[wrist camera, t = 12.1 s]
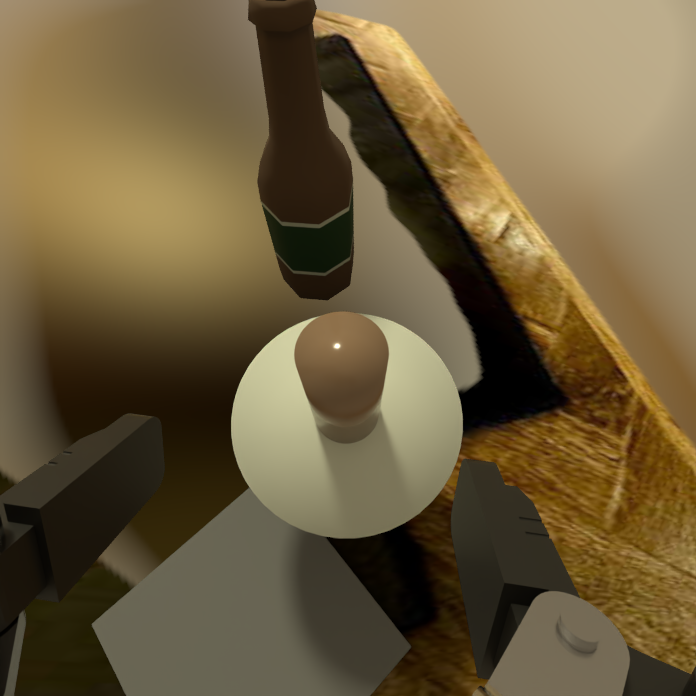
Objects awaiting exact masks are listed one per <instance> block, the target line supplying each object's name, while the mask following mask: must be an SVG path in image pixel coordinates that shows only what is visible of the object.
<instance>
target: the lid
mask: <svg viewBox="0 0 696 696" xmlns="http://www.w3.org/2000/svg"><path fill="white" fill-rule="evenodd" d="M231 430H232V431H231V434H232V442H233V449H234V453H235V456H236V460H237V463H238V466H239V468H240V470H241V472H242V475H243V477H244V479H245V480H246V482H247V484H248V485H249V487H250V488H251V490H252V492H253V493H254V494H255V495H256V496H257V498H258V499H259V500H260V501H261V502H262V503H263V504H264V505H265V506H266V507H267V508H268V509H269V510H270V511H272V512H273V513H274V514H275V515H276V516H278V517H279V518H281V519H282V520H284V521H286V522H287V523H289V524H290V525H293V526H295V527H297V528H299V529H301V530H304V531H306V532H310V533H313V534H317V535H320V536H325V537H332V538H361V537H367V536H373V535H376V534H380V533H383V532H386V531H389V530H391V529H393V528H395V527H397V526H400V525H402V524H404V523H406V522H407V521H409V520H410V519H412V518H413V517H414V516H416V515H417V514H419V513H420V512H421V511H422V510H423V509H424V508H426V507H427V506H428V505H429V504H430V503H431V502H432V501H433V500H434V499H435V497H436V496H437V495H438V494H439V492H440V491H441V490H442V489H443V487H444V485H445V484H446V482H447V480H448V479H449V477H450V475H451V473H452V471H453V468H454V466H455V464H456V462H457V458H458V454H459V451H460V447H461V440H462V432H463V417H462V409H461V402H460V399H459V395H458V392H457V388H456V386H455V383H454V381H453V379H452V376H451V374H450V373H449V371H448V369H447V367H446V366H445V364H444V362H443V361H442V360H441V359H440V357H439V356H438V355H437V353H436V352H435V351H434V350H433V349H432V348H431V347H430V346H429V345H428V344H427V343H426V342H425V341H424V340H422V339H421V338H420V337H418V336H417V335H416V334H415V333H413V332H411V331H410V330H408V329H407V328H405V327H403V326H401V325H399V324H397V323H395V322H392V321H390V320H387V319H384V318H380V317H377V316H373V315H368V314H360V313H353V312H347V311H337V312H331V313H327V314H324V315H322V316H319V317H315V318H311V319H309V320H306V321H303V322H301V323H299V324H297V325H295V326H293V327H291V328H289V329H287V330H286V331H284V332H283V333H281V334H280V335H278V336H277V337H275V338H274V339H273V340H272V341H271V342H269V343H268V344H267V345H266V346H265V347H264V348H263V349H262V350H261V352H260V353H259V354H258V355H257V356H256V357H255V359H254V360H253V361H252V363H251V364H250V365H249V367H248V369H247V371H246V372H245V374H244V376H243V378H242V380H241V383H240V385H239V387H238V390H237V393H236V397H235V400H234V404H233V411H232V419H231Z"/></svg>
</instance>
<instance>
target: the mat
mask: <svg viewBox="0 0 696 696" xmlns="http://www.w3.org/2000/svg"><path fill="white" fill-rule="evenodd" d="M92 626H93V628H94V630H95V632H96V634H97V637H98V639H99V641H100V643H101V645H102V647H103V649H104V651H105V653H106V655H107V657H108V659H109V661H110V663H111V665H112V667H113V669H114V671H115V673H116V675H117V678H118V680H119V682H120V684H121V686H122V688H123V690H124V692H125V694H126V696H370V695H371V694H372V693H373V692H374V691H375V689H376V688H377V687H378V686H379V685H380V684H381V682H382V681H383V680H384V679H385V678H386V676H387V675H388V674H389V673H390V672H391V671H392V669H393V668H394V667H395V666H396V665H397V664H398V662H399V661H400V660H401V659H402V658H403V656H404V655H405V654H406V653H407V652H408V651H409V649H410V648H411V645H410V644H409V643H408V642H407V640H406V639H405V638H404V637H403V635H402V634H401V633H400V631H399V630H398V629H397V628H396V626H395V625H394V624H393V622H392V621H391V620H390V619H389V617H388V616H387V615H386V614H385V612H384V611H383V610H382V608H381V607H380V606H379V605H378V603H377V602H376V601H375V600H374V598H373V597H372V596H371V594H370V593H369V592H368V591H367V589H366V588H365V587H364V586H363V584H362V583H361V582H360V580H359V579H358V578H357V577H356V575H355V574H354V573H353V571H352V570H351V569H350V568H349V566H348V565H347V564H346V563H345V561H344V560H343V559H342V557H341V556H340V555H339V554H338V552H337V551H336V550H335V549H334V547H333V546H332V545H331V543H330V542H329V541H328V540H327V538H326V537H325V536H320V535H317V534H313V533H310V532H306V531H304V530H301V529H299V528H297V527H295V526H293V525H290V524H289V523H287V522H286V521H284V520H282V519H281V518H279V517H278V516H276V515H275V514H274V513H273V512H272V511H270V510H269V509H268V508H267V507H266V506H265V505H264V504H263V503H262V502H261V501H260V500H259V499H258V498H257V496H256V495H255V494H254V493H253V492H252V490H251V488H249V489H248V490H246V491H245V492H244V493H243V494H242V495H240V496H239V497H238V498H237V499H236V500H235V501H234V502H232V503H231V504H230V505H229V506H228V507H227V508H225V509H224V510H223V511H222V512H221V513H220V514H219V515H217V516H216V517H215V518H214V519H213V520H212V521H210V522H209V523H208V524H207V525H206V526H205V527H203V528H202V529H201V530H200V531H199V532H198V533H197V534H195V535H194V536H193V537H192V538H191V539H190V540H189V541H187V543H185V544H184V545H183V546H182V547H180V548H179V549H178V550H177V551H176V552H175V553H174V554H172V555H171V556H170V557H169V558H168V559H167V560H166V561H164V562H163V563H162V564H161V565H160V566H159V567H157V568H156V569H155V570H154V571H153V572H152V573H151V574H149V575H148V576H147V577H146V578H145V579H143V580H142V581H141V582H140V583H139V584H138V585H136V586H135V587H134V588H133V589H132V590H131V591H130V592H128V593H127V594H126V595H125V596H124V597H123V598H121V599H120V600H119V601H118V602H117V603H116V604H115V605H113V606H112V607H111V608H110V609H109V610H108V611H106V612H105V613H104V614H103V615H102V616H101V617H99V618H98V619H97V620H96V621H95V622H94V623H93V624H92Z"/></svg>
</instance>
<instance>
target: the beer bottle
mask: <svg viewBox="0 0 696 696" xmlns="http://www.w3.org/2000/svg"><path fill="white" fill-rule="evenodd" d="M316 9H317V8H316V5H315V1H314V0H249V9H248V11H249V12H248V20H249V21H251V22H252V23H253V24H255V25H256V31H257V38H258V45H259V51H260V59H261V66H262V73H263V80H264V87H265V94H266V101H267V108H268V115H269V137H268V139H267V142H266V145H265V148H264V152H263V155H262V158H261V161H260V166H259V174H258V187H259V193H260V199H261V203H262V207H263V210H264V214H265V217H266V221H267V225H268V228H269V232H270V235H271V239H272V242H273V246H274V250H275V253H276V256H277V260H278V264H279V267H280V270H281V273H282V276H283V278H284V280H285V281H286V282H287V284H289V286H290V287H291V288H292V289H293V290H294V291H295V292H296V294H297V295H298V296H299V297H300V298H307V299H319V300H329V299H330V298H332V297H333V296H334V295H336V294H338V293H339V292H341V291H342V290H344V289H345V288H347V287H348V286H349V285H350V281H351V273H352V266H353V255H354V236H353V234H354V231H353V176H352V166H351V161H350V158H349V156H348V154H347V151H346V149H345V147H344V145H343V144H342V143H341V141H340V140H339V139H338V138H337V137H336V135H335V134H334V133H333V132H332V131H331V130H330V128H329V125H328V121H327V117H326V113H325V110H324V105H323V97H322V90H321V82H320V75H319V68H318V61H317V53H316V46H315V39H314V31H313V24H312V22H313V19H314V16H315V12H316Z"/></svg>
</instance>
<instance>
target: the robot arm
mask: <svg viewBox="0 0 696 696" xmlns="http://www.w3.org/2000/svg"><path fill="white" fill-rule="evenodd" d="M164 469H165V467H164V453H163V441H162V428H161V423H160V420H159V419H158V418H156V417H151V416H143V415H136V414H126V415H124V416H122V417H121V418H120V419H118V420H117V421H116V422H114V423H113V424H111V425H110V426H109V427H107V428H106V429H103V430H101V431H99V432H96V433H94V434H91V435H89V436H87V437H84V438H82V439H80V440H79V441H77V442H76V443H75V444H73V445H72V446H70V447H69V448H67V449H66V450H65V451H64V452H63V454H59V455H57V456H56V457H55V458H53V459H52V460H50V461H49V463H48V465H47V464H45V465H43V466H42V467H40V468H39V469H38V470H36V471H35V472H33V473H32V474H30V475H29V476H28V477H26V478H25V479H23V480H22V481H20V482H19V483H18V484H16V485H15V486H13V487H12V488H10V489H9V490H8V491H6V492H5V493H3V494H2V495H0V696H14V690H15V684H16V678H17V672H18V666H19V660H20V654H21V648H22V642H23V636H24V630H25V624H26V616H25V612H24V609H25V608H26V607H27V606H28V605H29V604H30V603H31V602H32V601H33V600H34V598H36V599H42V600H48V601H53V602H60V601H61V600H62V599H63V598H64V596H65V595H66V594H67V593H68V592H69V591H70V590H71V588H72V587H73V586H74V585H75V584H76V583H77V581H78V580H79V579H80V578H81V577H82V576H83V575H84V573H85V572H86V571H87V570H88V569H89V568H90V567H91V565H92V564H93V563H94V562H95V561H96V560H97V559H98V557H99V556H100V555H101V554H102V553H103V552H104V550H105V549H106V548H107V547H108V546H109V545H110V544H111V542H112V541H113V540H114V539H115V538H116V537H117V536H118V534H119V533H120V532H121V531H122V530H123V529H124V528H125V526H126V525H127V524H128V523H129V522H130V521H131V519H132V518H133V517H134V516H135V515H136V514H137V513H138V511H139V510H140V509H141V508H142V507H143V506H144V505H145V503H146V502H147V501H148V500H149V499H150V498H151V496H152V495H153V494H154V493H155V492H156V491H157V489H158V488H159V486H160V484H161V482H162V479H163V475H164ZM451 534H452V540H453V546H454V551H455V556H456V562H457V567H458V573H459V578H460V583H461V589H462V594H463V600H464V605H465V610H466V616H467V621H468V627H469V632H470V638H471V643H472V648H473V654H474V659H475V665H476V670H477V675H478V678H483V679H489V681H488V683H487V684H486V686H485V687H484V688H483V687H482V686H479V687H478V688H477V690H476V691H475V692H474V694H473V695H472V696H696V667H695V668H694V670H693V672H692V674H689V673H687V672H684V671H682V670H680V669H677V668H675V667H673V666H671V665H668V664H666V663H664V662H661V661H659V660H657V659H655V658H652V657H650V656H648V655H645V654H643V653H641V652H639V651H637V650H635V649H633V648H631V647H629V646H628V645H626V643H625V641H624V639H623V637H622V635H621V634H620V632H619V631H618V629H617V628H616V627H615V626H614V624H613V623H612V622H611V621H610V620H609V619H608V618H607V617H606V616H605V615H604V614H603V613H602V612H600V611H599V610H598V609H597V608H595V607H594V606H592V605H591V604H589V603H588V602H586V601H584V600H582V599H581V598H580V597H579V595H578V593H577V591H576V589H575V587H574V585H573V583H572V581H571V578H570V576H569V574H568V572H567V570H566V568H565V566H564V564H563V562H562V560H561V558H560V556H559V554H558V552H557V550H556V548H555V546H554V544H553V542H552V540H551V539H549V534H548V532H547V530H546V528H545V526H544V524H542V520H541V518H540V516H539V514H538V512H537V510H536V508H535V506H534V504H533V502H532V501H531V500H530V499H529V498H528V497H527V496H526V495H525V494H524V493H523V492H522V491H521V490H520V489H519V488H518V487H517V486H509V485H505V484H504V481H503V479H502V476H501V474H500V472H499V469H498V467H497V465H496V464H495V463H494V462H486V461H478V460H471V459H463V461H462V464H461V467H460V472H459V477H458V482H457V487H456V492H455V497H454V501H453V506H452V513H451Z"/></svg>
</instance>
